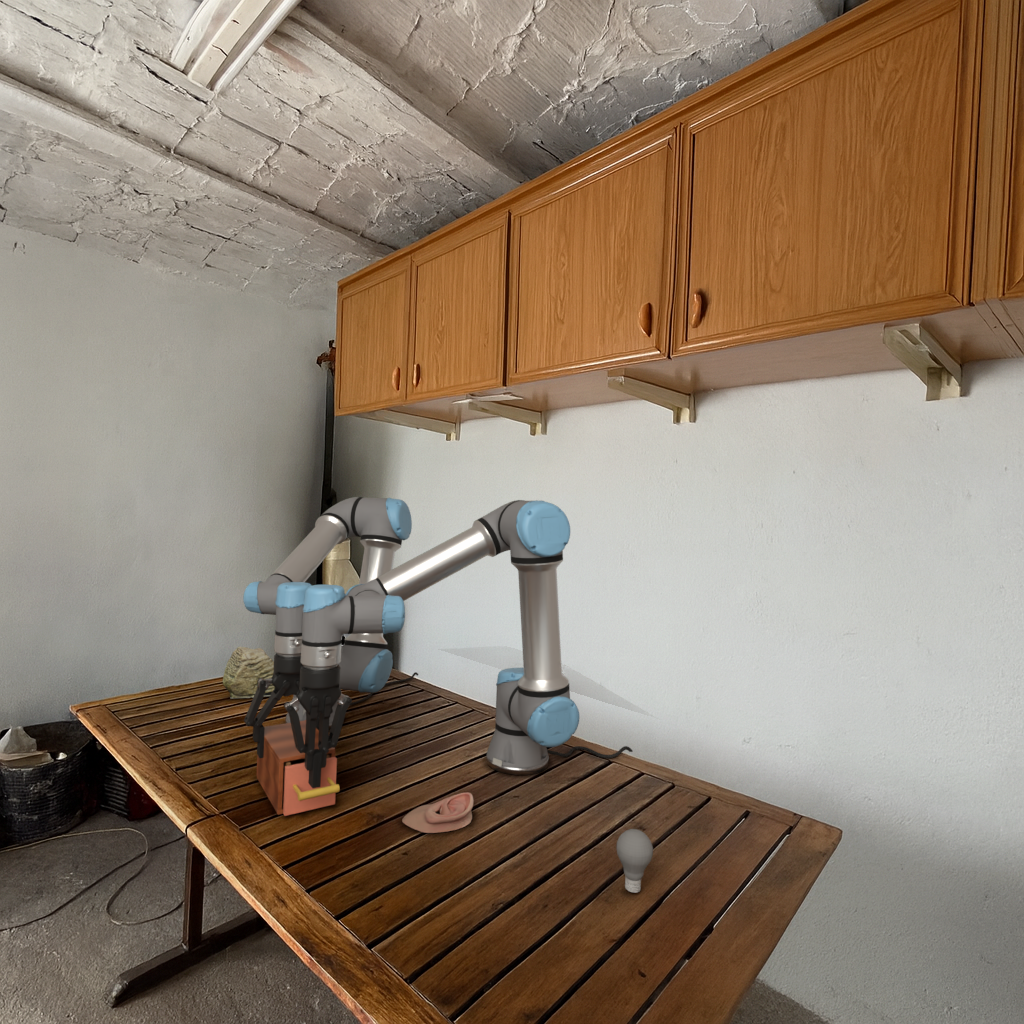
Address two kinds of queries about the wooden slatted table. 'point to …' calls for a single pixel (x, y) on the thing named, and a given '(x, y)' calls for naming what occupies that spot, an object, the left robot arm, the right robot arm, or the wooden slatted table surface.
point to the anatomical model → (442, 814)
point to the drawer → (308, 787)
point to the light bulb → (634, 857)
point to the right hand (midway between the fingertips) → (314, 784)
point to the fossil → (247, 672)
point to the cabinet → (279, 759)
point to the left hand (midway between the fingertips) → (288, 750)
